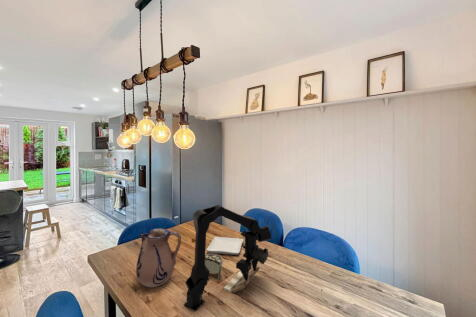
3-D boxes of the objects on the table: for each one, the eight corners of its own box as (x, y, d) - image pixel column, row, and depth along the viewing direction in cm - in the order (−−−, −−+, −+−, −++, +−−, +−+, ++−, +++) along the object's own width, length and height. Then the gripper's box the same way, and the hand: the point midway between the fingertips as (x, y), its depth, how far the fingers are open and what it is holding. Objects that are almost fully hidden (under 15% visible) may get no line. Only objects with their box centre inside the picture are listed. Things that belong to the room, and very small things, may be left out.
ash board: (231, 292, 100) (231, 289, 100) (223, 289, 102) (223, 287, 102) (248, 273, 116) (248, 270, 116) (241, 271, 118) (241, 268, 118)
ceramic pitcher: (137, 275, 113) (137, 228, 112) (179, 268, 121) (179, 223, 120) (134, 297, 97) (133, 242, 96) (183, 286, 105) (182, 235, 103)
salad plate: (239, 257, 133) (239, 252, 133) (205, 255, 137) (205, 249, 136) (243, 243, 154) (243, 238, 154) (214, 241, 157) (214, 236, 157)
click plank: (243, 288, 97) (242, 285, 97) (233, 293, 100) (231, 290, 100) (259, 268, 113) (258, 266, 113) (250, 273, 116) (248, 271, 116)
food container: (227, 275, 114) (227, 256, 114) (220, 281, 109) (220, 262, 108) (208, 268, 120) (208, 251, 120) (201, 274, 115) (201, 255, 115)
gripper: (258, 255, 93) (258, 291, 93) (273, 239, 109) (272, 270, 110) (235, 250, 98) (235, 283, 99) (252, 235, 114) (252, 264, 115)
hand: (250, 275), depth 105 cm, fingers open, 9 cm apart
